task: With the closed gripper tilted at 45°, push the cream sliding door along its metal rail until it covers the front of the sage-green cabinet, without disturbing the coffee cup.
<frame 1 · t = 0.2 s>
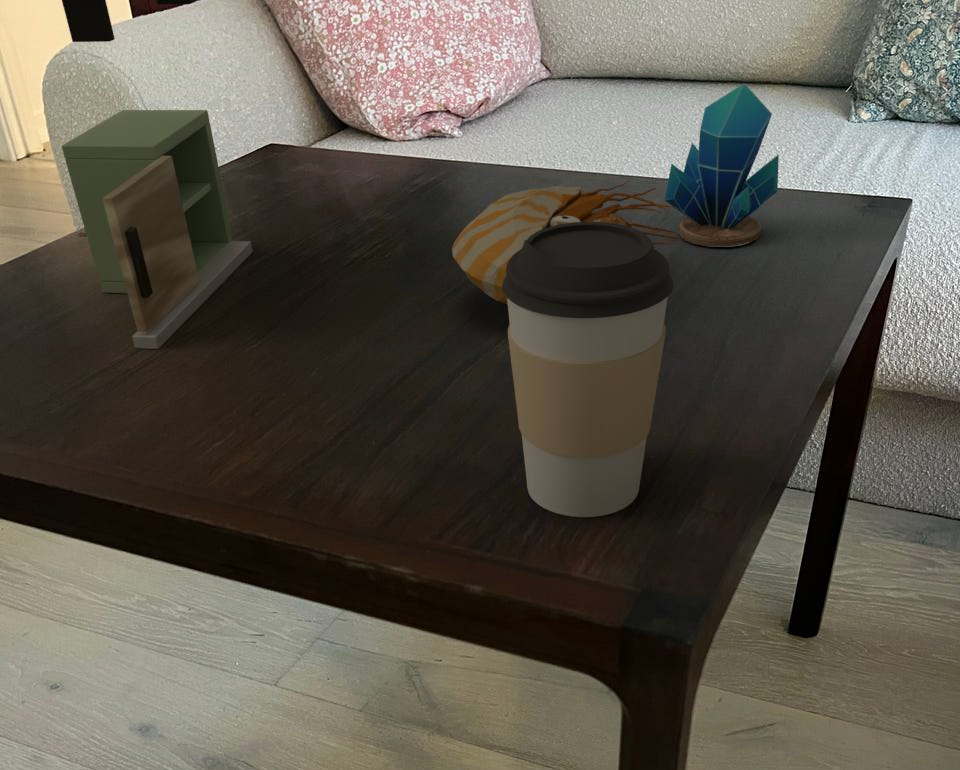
hand: (137, 21, 75), 21 cm above the table, tool pointing down, fingers open, 13 cm apart
gemstone: (716, 237, 95), on the table
nautilus: (576, 293, 87), on the table
coffee cup: (582, 488, 64), on the table
sliding door: (157, 243, 82), point 6 cm above the table, slide at 0.0 cm
cabinet: (181, 270, 94), on the table
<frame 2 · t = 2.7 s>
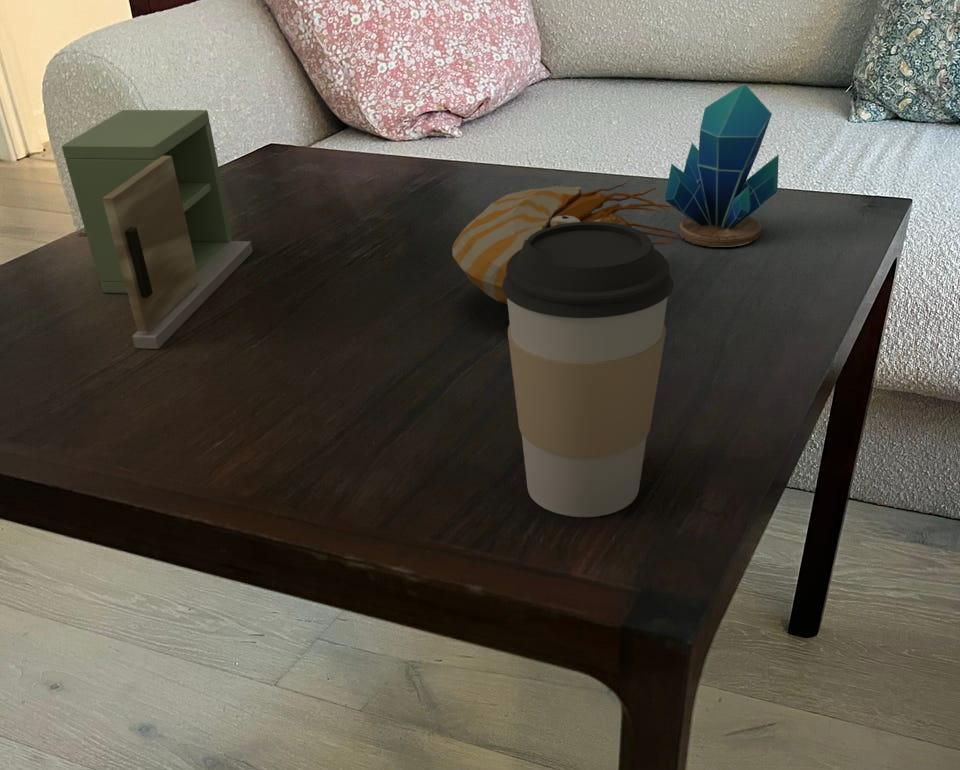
nothing on the table moved.
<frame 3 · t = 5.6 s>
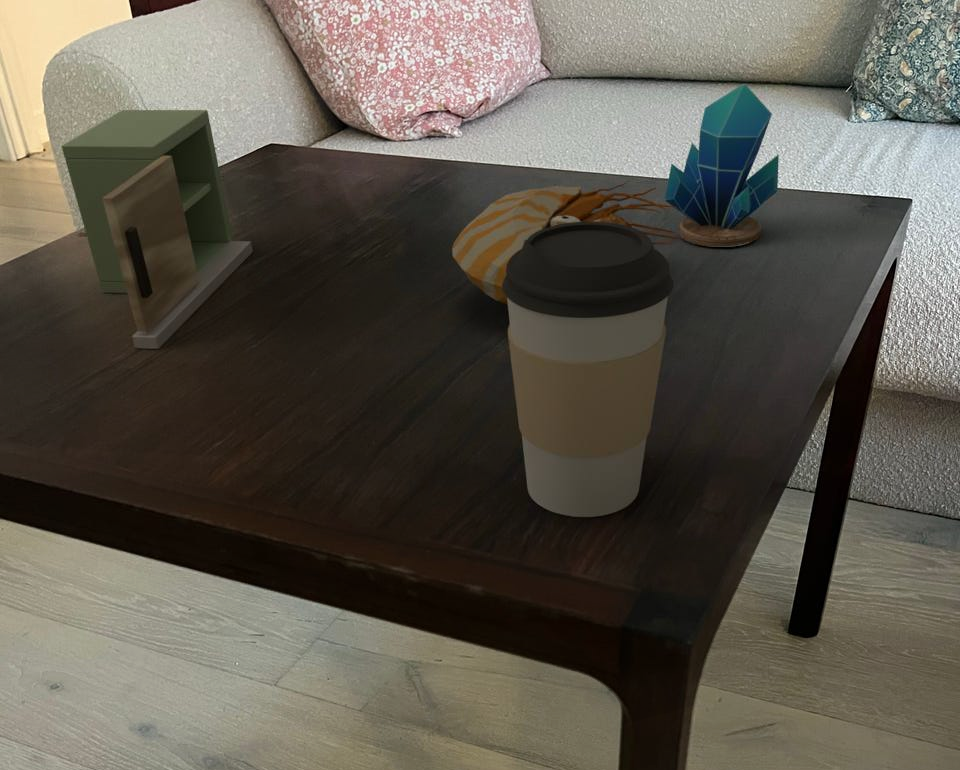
nothing on the table moved.
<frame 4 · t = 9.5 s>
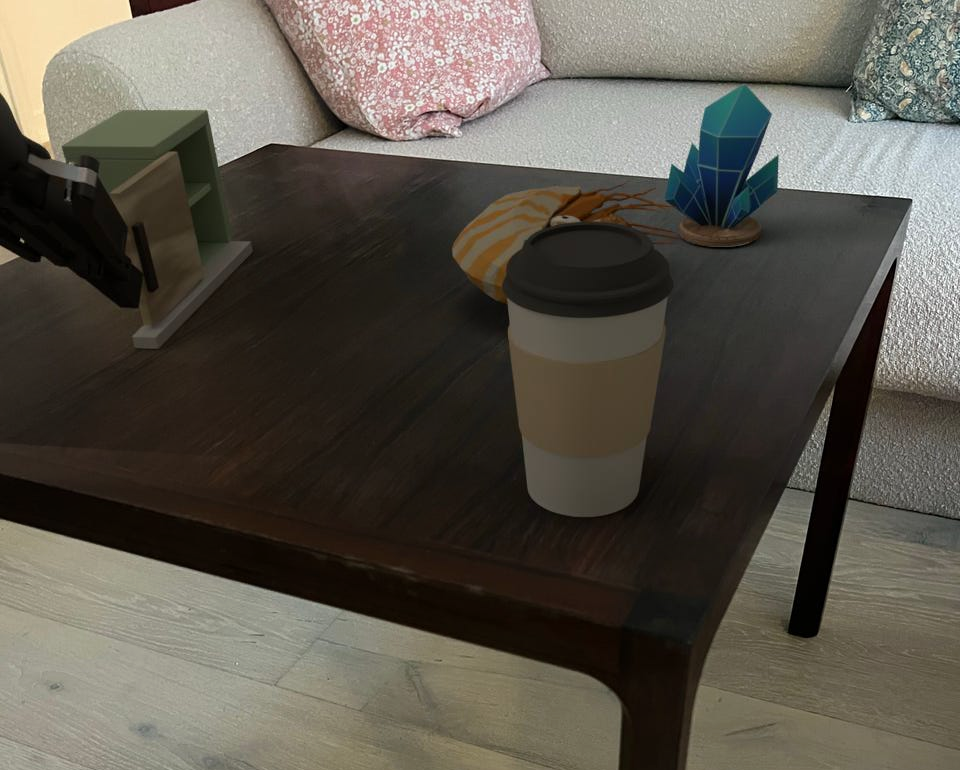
hand: (131, 290, 79), 5 cm above the table, tool tilted 45°, fingers closed
sliding door: (163, 238, 83), point 6 cm above the table, slide at 1.1 cm, touching gripper
everything else where it was.
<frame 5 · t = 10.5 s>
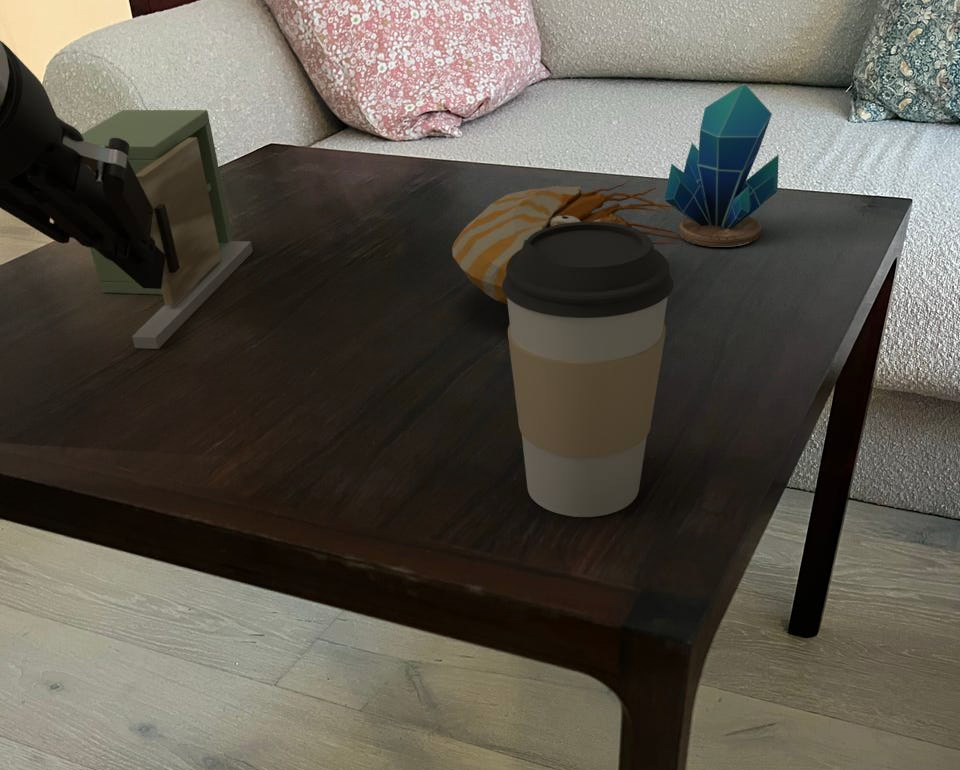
hand: (154, 271, 82), 5 cm above the table, tool tilted 45°, fingers closed
sliding door: (184, 220, 86), point 6 cm above the table, slide at 5.1 cm, touching gripper
everything else where it was.
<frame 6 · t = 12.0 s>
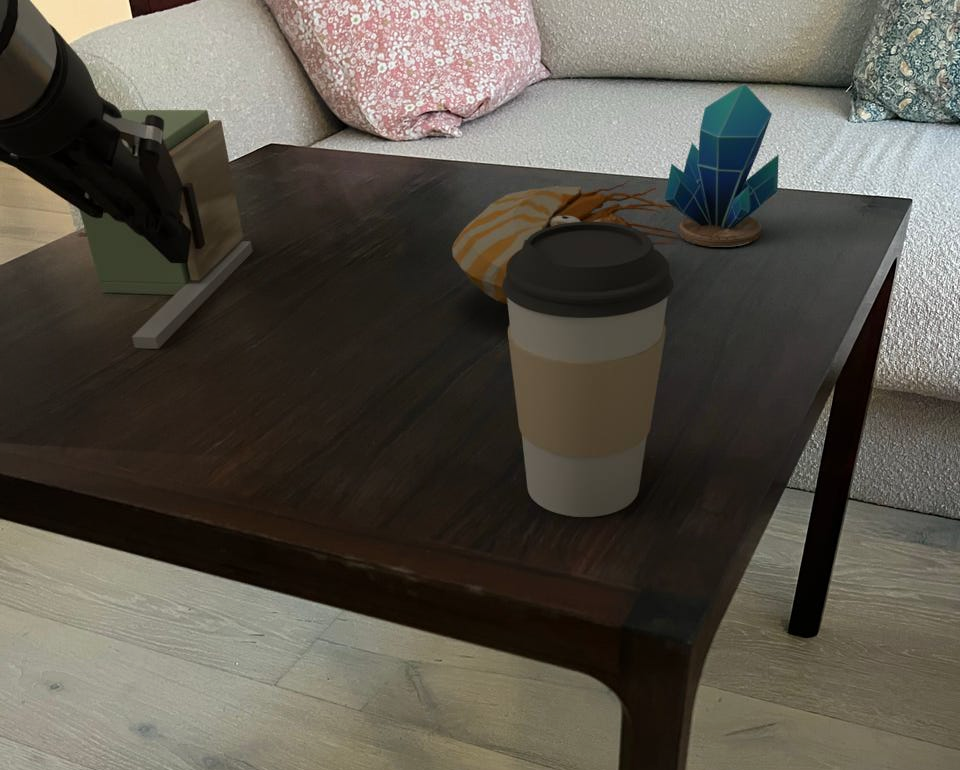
hand: (181, 247, 86), 5 cm above the table, tool tilted 45°, fingers closed
sliding door: (209, 199, 90), point 6 cm above the table, slide at 10.4 cm, touching gripper
everything else where it was.
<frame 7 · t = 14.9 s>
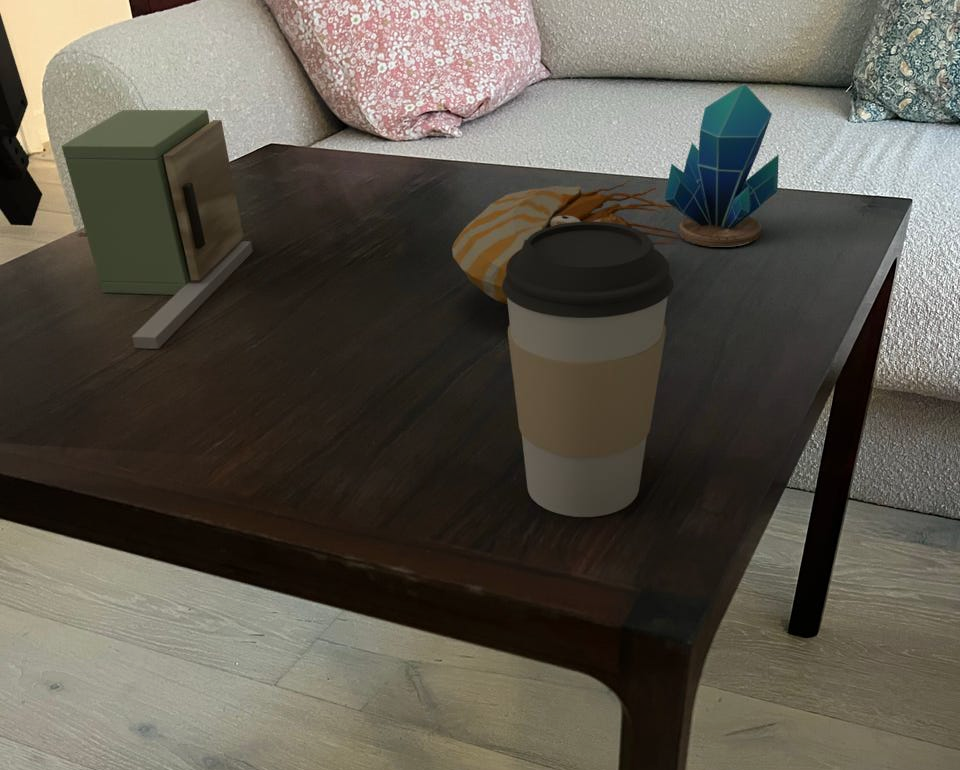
hand: (26, 209, 70), 12 cm above the table, tool tilted 30°, fingers closed
sliding door: (209, 199, 90), point 6 cm above the table, slide at 10.5 cm
everything else where it was.
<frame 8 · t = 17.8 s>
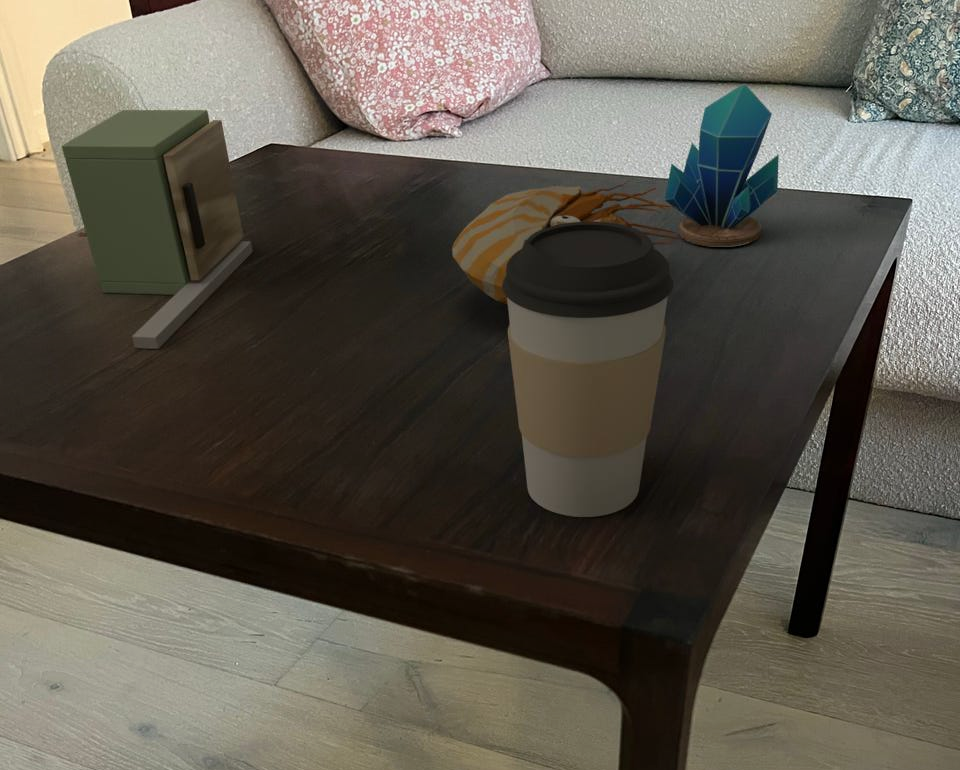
nothing on the table moved.
at the end: sliding door slide at 10.5 cm; coffee cup moved 0.2 cm from its start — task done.
